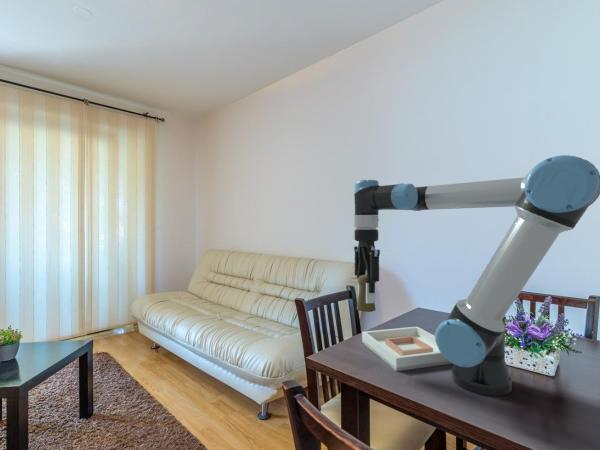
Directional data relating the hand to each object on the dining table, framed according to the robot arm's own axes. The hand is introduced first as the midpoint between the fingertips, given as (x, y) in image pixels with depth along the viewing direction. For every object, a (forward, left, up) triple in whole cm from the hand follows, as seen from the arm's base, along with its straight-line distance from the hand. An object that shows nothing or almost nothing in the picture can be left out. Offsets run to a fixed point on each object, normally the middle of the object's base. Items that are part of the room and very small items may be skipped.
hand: (366, 300), depth 104 cm
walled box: (+5, -19, -21) cm, 28 cm away
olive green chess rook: (0, 0, -3) cm, 3 cm away
